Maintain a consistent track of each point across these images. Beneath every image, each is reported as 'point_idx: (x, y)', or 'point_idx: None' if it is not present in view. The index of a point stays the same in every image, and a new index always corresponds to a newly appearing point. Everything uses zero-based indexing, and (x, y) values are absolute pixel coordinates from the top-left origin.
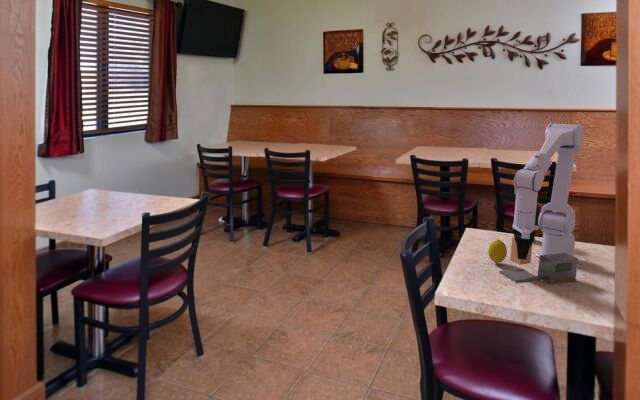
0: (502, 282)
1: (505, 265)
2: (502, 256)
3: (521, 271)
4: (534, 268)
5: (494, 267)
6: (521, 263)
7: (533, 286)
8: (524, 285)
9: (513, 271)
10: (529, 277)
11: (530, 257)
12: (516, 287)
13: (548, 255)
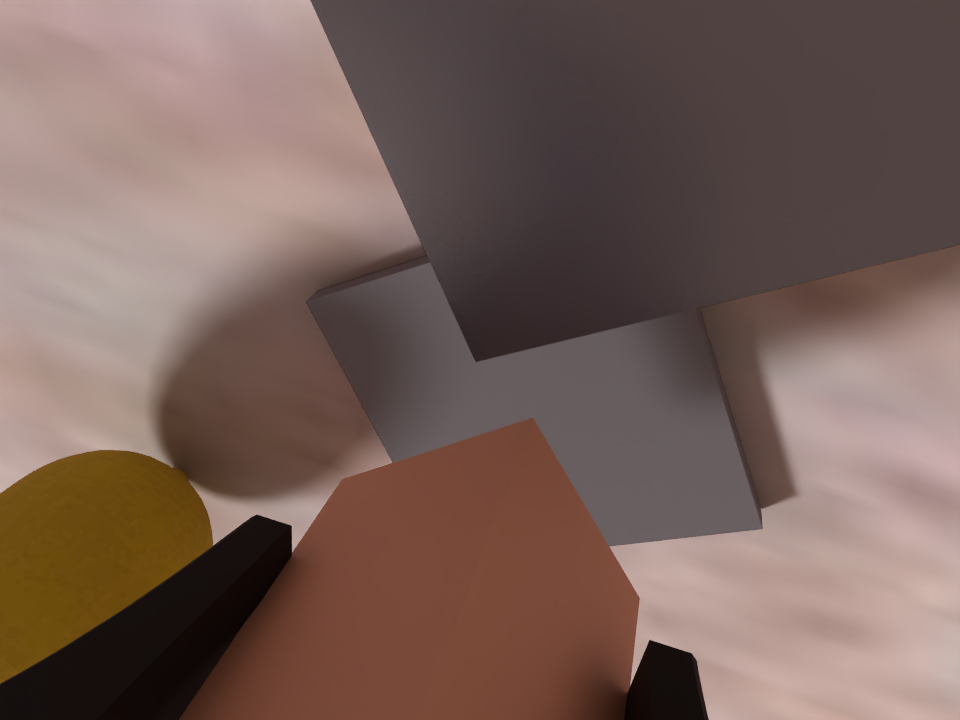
0: (760, 626)
1: (202, 410)
2: (177, 541)
3: (421, 351)
4: (180, 89)
5: (303, 530)
6: (621, 588)
7: (940, 359)
8: (884, 454)
9: (439, 439)
10: (648, 331)
11: (514, 505)
12: (946, 563)
13: (449, 130)
